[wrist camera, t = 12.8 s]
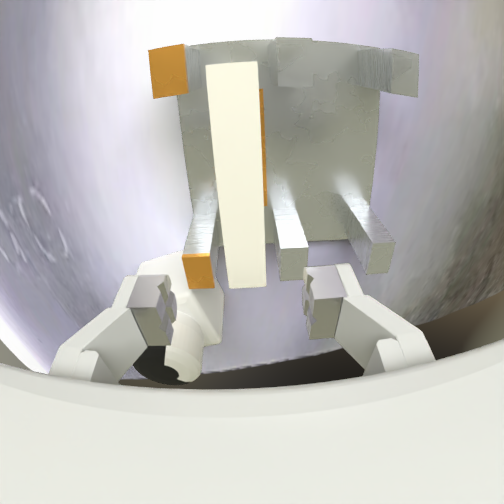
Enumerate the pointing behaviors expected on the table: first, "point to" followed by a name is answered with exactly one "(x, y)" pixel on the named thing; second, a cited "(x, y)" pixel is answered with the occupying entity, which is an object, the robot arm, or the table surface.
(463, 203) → the table surface
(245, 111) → the panel
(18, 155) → the table surface
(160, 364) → the medicine bottle
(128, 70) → the table surface
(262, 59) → the panel rack
